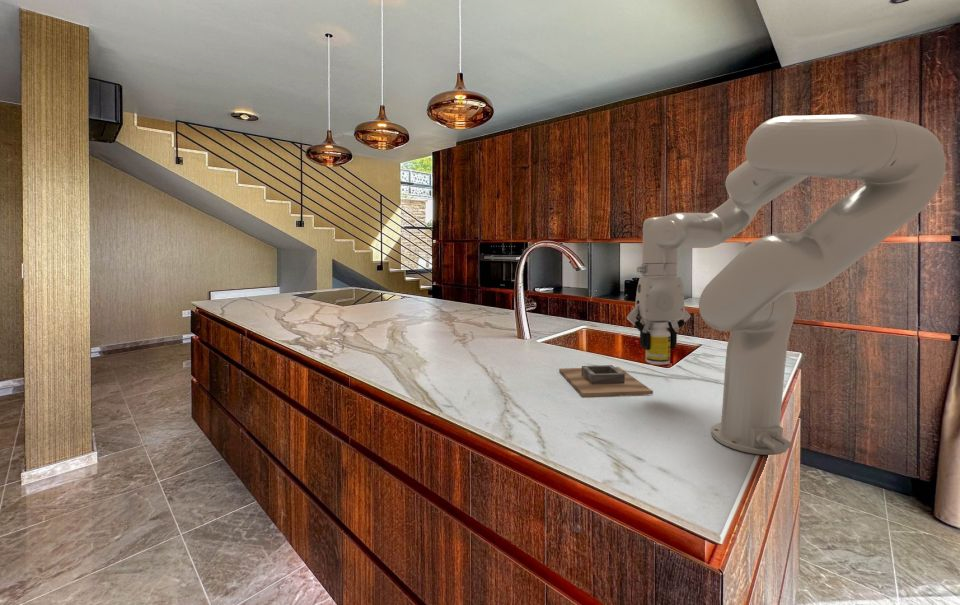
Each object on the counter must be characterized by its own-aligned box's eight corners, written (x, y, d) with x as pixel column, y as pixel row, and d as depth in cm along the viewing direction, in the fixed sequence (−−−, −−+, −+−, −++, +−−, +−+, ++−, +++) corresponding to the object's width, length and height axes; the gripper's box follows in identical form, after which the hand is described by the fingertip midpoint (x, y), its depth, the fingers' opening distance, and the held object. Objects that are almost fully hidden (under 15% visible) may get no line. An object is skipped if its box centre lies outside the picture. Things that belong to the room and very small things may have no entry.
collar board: (652, 394, 112) (653, 381, 112) (582, 397, 111) (582, 383, 110) (618, 370, 134) (618, 358, 134) (559, 371, 133) (559, 360, 132)
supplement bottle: (672, 365, 103) (673, 323, 102) (647, 364, 104) (648, 322, 103) (667, 360, 108) (668, 319, 107) (643, 359, 109) (644, 319, 108)
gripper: (630, 272, 100) (629, 353, 101) (704, 270, 101) (702, 350, 103) (617, 271, 107) (616, 346, 109) (686, 270, 108) (684, 344, 110)
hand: (658, 347), depth 106 cm, fingers closed on supplement bottle, 5 cm apart
